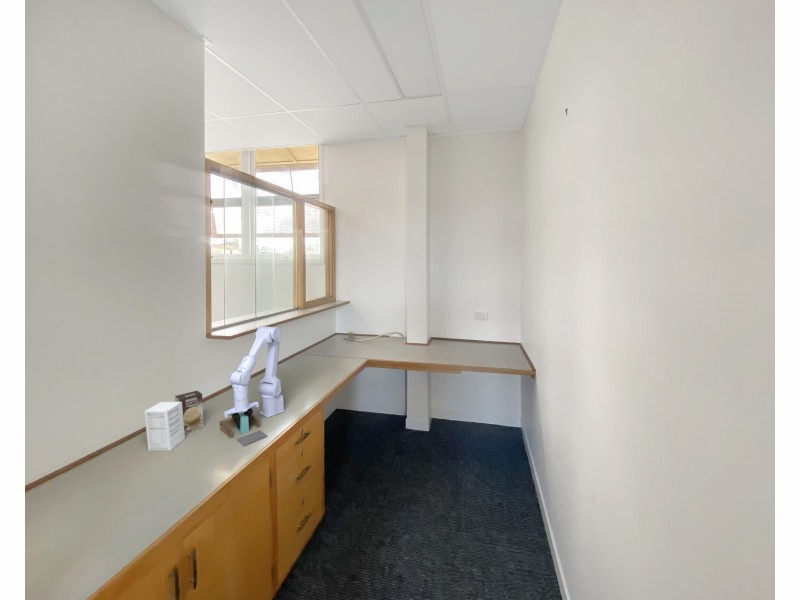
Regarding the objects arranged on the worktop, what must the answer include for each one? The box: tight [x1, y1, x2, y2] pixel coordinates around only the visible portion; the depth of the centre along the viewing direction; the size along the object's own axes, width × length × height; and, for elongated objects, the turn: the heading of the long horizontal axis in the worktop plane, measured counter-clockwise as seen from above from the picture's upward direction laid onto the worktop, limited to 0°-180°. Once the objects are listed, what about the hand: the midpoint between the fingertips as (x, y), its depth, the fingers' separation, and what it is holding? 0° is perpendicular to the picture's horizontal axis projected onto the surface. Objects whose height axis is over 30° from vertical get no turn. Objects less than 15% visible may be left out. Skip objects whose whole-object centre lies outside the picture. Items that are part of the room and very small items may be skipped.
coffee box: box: [174, 390, 205, 434], centre depth 148 cm, size 9×6×16 cm
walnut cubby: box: [219, 413, 260, 439], centre depth 149 cm, size 13×11×4 cm
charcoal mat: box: [236, 429, 268, 447], centre depth 141 cm, size 10×7×1 cm
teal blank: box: [235, 412, 250, 435], centre depth 147 cm, size 3×6×7 cm, turn 48°
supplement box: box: [144, 401, 186, 452], centre depth 135 cm, size 10×9×17 cm
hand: (242, 426), depth 147 cm, fingers closed on teal blank, 3 cm apart
